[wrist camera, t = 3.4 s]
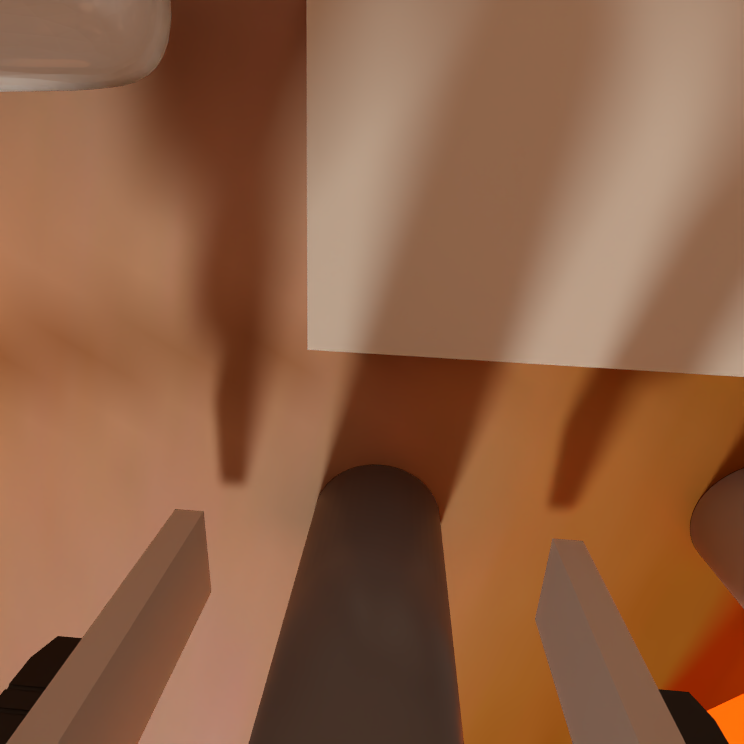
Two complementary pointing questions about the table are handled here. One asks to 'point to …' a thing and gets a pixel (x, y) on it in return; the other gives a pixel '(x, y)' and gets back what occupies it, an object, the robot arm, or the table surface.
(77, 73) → the salad plate
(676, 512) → the table surface
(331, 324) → the paper
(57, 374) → the table surface
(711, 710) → the orange juice
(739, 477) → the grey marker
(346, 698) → the marker
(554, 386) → the table surface
